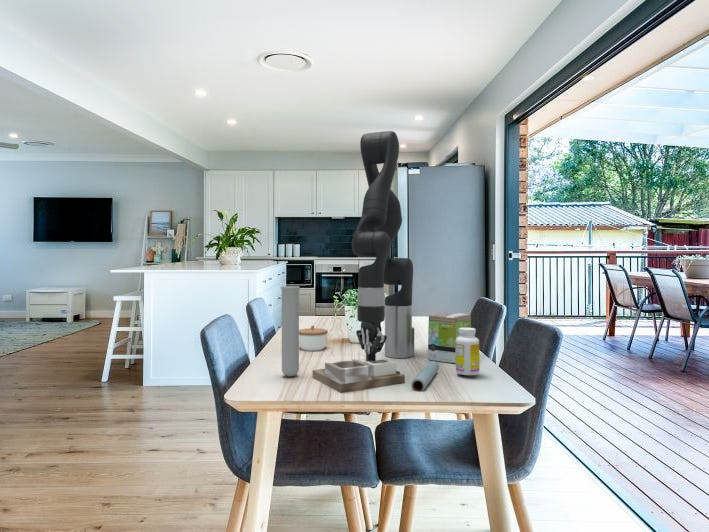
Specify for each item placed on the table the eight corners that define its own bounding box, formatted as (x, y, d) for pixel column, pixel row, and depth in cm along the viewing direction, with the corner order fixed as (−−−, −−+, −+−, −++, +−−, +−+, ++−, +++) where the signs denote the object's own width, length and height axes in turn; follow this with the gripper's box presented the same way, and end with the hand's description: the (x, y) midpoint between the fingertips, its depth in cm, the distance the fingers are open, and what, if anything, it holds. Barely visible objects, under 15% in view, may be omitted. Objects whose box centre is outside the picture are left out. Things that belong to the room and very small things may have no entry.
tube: (297, 379, 121) (297, 287, 121) (278, 378, 122) (278, 287, 122) (301, 374, 127) (301, 286, 127) (283, 373, 127) (283, 286, 127)
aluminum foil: (424, 393, 109) (424, 379, 109) (398, 391, 111) (398, 377, 111) (439, 372, 130) (439, 361, 130) (416, 370, 133) (416, 359, 133)
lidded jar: (296, 349, 164) (296, 324, 164) (324, 348, 167) (324, 323, 167) (299, 355, 154) (299, 328, 154) (330, 354, 156) (330, 327, 156)
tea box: (456, 363, 141) (456, 317, 141) (426, 360, 146) (427, 315, 146) (471, 355, 153) (471, 312, 153) (443, 352, 159) (443, 311, 159)
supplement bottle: (480, 371, 130) (480, 327, 130) (478, 376, 124) (478, 330, 124) (456, 369, 132) (456, 326, 132) (454, 374, 126) (454, 329, 126)
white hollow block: (385, 370, 123) (385, 358, 123) (395, 373, 118) (395, 361, 118) (363, 372, 119) (363, 361, 119) (373, 377, 115) (373, 364, 115)
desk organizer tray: (371, 369, 132) (371, 351, 132) (404, 382, 117) (404, 361, 117) (312, 377, 123) (312, 357, 123) (340, 392, 108) (340, 369, 108)
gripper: (395, 305, 119) (395, 370, 119) (370, 301, 130) (370, 360, 130) (371, 306, 115) (371, 373, 115) (347, 302, 127) (347, 363, 127)
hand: (370, 366), depth 123 cm, fingers closed
